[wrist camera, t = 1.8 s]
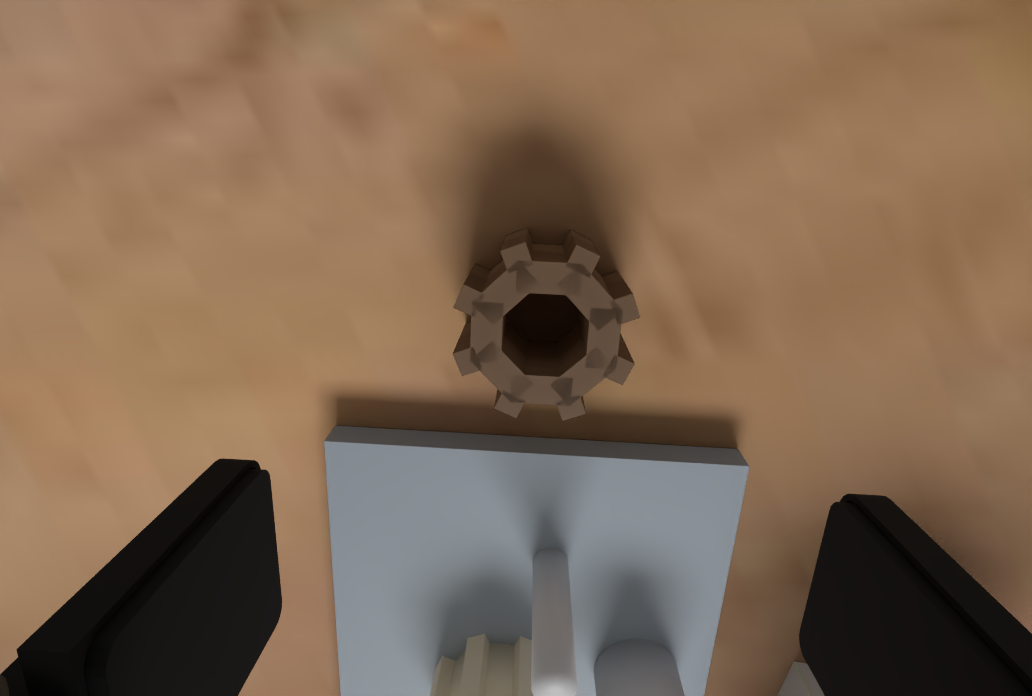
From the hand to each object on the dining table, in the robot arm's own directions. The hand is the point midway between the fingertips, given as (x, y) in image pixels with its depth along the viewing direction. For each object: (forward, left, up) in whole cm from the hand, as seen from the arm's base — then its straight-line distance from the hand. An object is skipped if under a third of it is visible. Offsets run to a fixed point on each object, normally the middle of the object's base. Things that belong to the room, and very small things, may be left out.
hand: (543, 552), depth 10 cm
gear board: (+15, 0, -15) cm, 22 cm away
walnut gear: (0, 0, -15) cm, 15 cm away
